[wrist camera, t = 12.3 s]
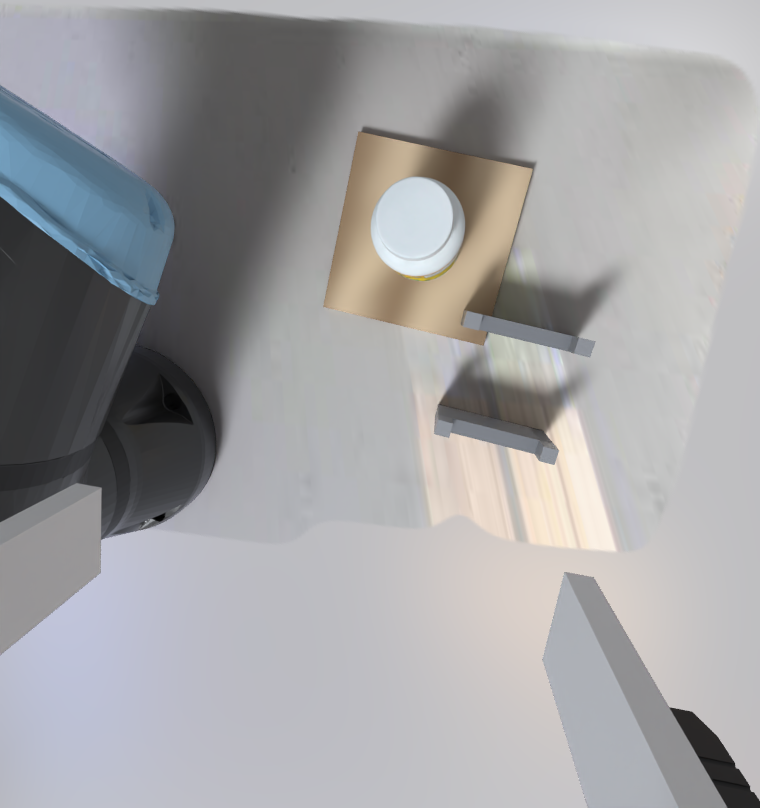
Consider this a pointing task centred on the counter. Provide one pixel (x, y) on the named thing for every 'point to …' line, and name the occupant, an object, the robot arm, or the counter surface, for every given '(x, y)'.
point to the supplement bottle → (418, 228)
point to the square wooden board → (480, 252)
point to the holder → (499, 429)
